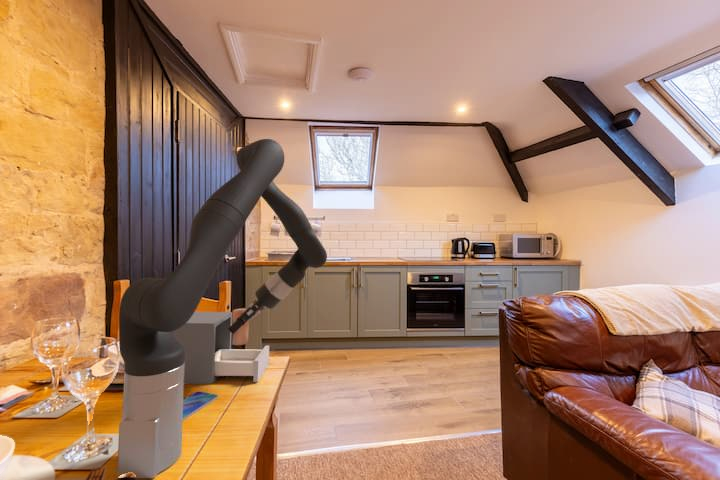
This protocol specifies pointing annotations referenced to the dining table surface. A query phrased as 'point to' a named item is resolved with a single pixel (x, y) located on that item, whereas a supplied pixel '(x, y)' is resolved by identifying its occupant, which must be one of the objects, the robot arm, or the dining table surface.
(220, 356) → the drawer
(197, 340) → the cabinet
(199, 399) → the smartphone
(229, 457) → the dining table surface
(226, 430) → the dining table surface
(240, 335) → the tan rounded cylinder
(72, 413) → the dining table surface
